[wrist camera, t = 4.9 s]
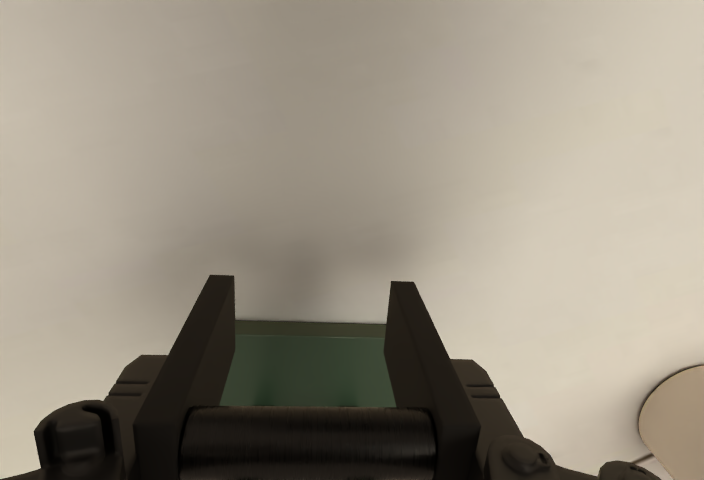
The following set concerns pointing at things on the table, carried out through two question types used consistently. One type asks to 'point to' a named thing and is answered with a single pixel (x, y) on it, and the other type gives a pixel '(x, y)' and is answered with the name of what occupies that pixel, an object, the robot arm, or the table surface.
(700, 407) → the mug
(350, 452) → the lever
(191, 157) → the table surface
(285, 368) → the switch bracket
